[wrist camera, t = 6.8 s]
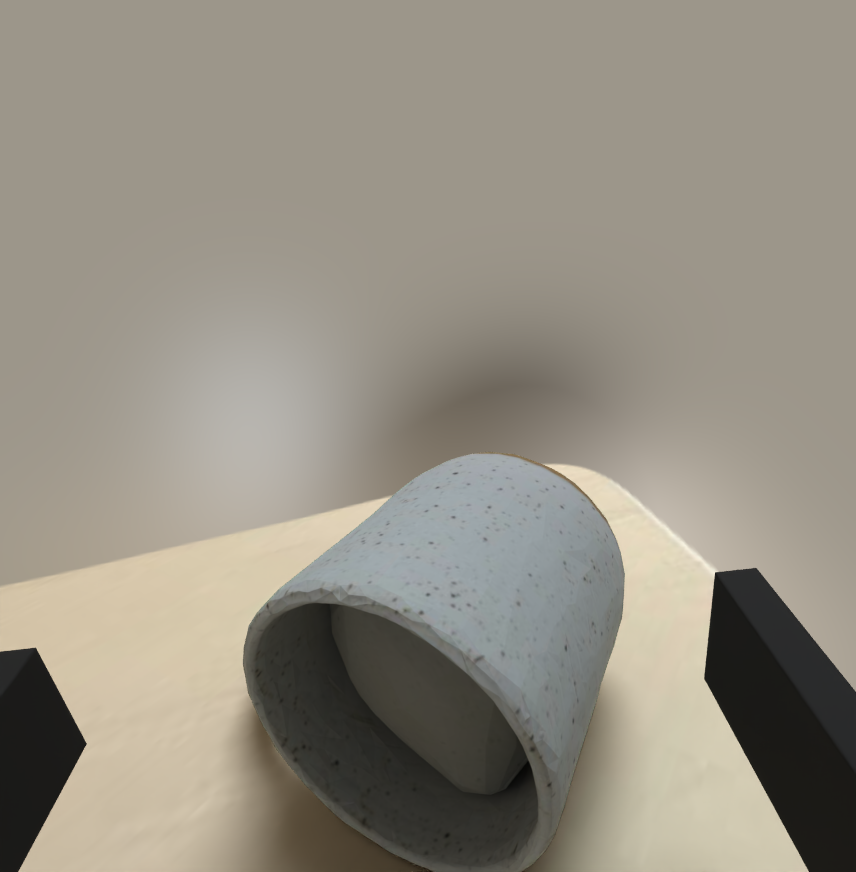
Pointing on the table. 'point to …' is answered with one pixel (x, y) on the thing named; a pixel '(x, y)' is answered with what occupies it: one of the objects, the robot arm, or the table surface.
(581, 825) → the table surface
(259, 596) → the table surface
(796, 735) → the robot arm
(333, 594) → the ceramic mug
